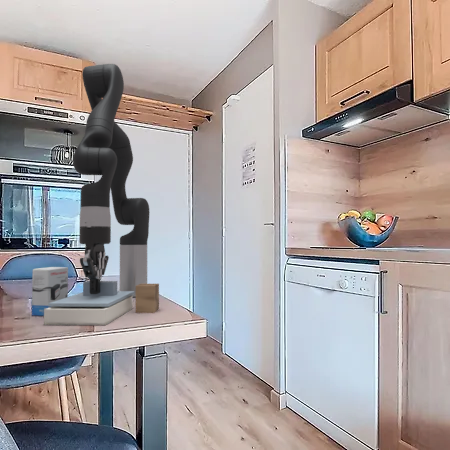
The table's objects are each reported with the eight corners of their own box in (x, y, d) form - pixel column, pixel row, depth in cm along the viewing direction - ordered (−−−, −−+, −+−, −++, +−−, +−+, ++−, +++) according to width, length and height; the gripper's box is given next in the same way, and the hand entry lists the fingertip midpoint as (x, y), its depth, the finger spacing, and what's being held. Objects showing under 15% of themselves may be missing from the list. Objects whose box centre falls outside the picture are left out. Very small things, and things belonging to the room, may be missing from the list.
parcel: (140, 309, 102) (140, 283, 102) (158, 309, 102) (158, 283, 102) (135, 312, 97) (135, 285, 97) (154, 312, 97) (154, 285, 97)
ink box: (47, 316, 93) (48, 269, 94) (30, 315, 94) (31, 268, 95) (68, 310, 101) (69, 266, 102) (52, 309, 102) (53, 266, 103)
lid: (85, 293, 105) (85, 278, 106) (134, 293, 105) (134, 278, 105) (48, 306, 86) (48, 288, 86) (108, 306, 85) (108, 288, 85)
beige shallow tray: (82, 308, 103) (82, 295, 104) (132, 308, 103) (132, 295, 103) (43, 324, 84) (44, 309, 84) (105, 325, 83) (105, 309, 83)
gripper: (91, 226, 102) (91, 290, 101) (68, 224, 89) (68, 297, 88) (118, 226, 102) (118, 290, 101) (99, 224, 88) (99, 297, 88)
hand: (94, 293), depth 94 cm, fingers closed
